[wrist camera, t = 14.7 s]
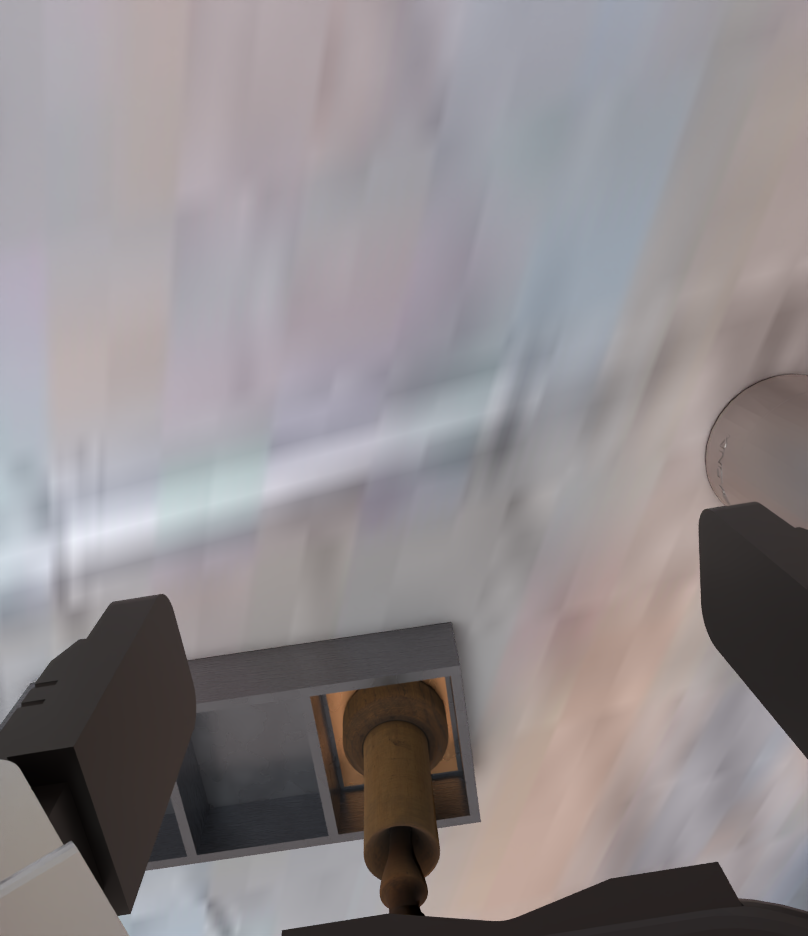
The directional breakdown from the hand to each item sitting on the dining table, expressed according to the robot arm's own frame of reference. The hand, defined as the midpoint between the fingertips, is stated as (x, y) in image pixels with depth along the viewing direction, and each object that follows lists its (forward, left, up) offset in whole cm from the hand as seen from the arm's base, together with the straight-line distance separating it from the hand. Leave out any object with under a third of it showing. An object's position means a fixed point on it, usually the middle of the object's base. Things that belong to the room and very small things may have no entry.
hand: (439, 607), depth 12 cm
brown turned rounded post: (+3, +25, -32) cm, 40 cm away
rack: (+12, +25, -33) cm, 43 cm away
